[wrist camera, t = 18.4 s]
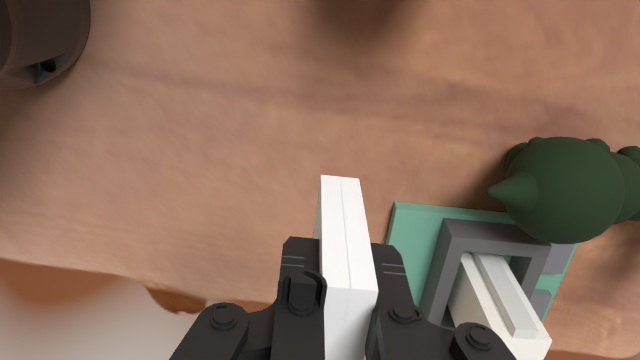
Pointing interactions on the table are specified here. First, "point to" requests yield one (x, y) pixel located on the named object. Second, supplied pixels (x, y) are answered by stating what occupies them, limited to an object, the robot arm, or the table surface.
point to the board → (470, 236)
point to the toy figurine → (569, 188)
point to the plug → (497, 304)
